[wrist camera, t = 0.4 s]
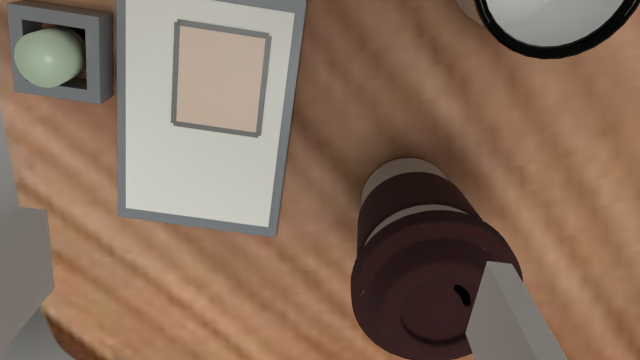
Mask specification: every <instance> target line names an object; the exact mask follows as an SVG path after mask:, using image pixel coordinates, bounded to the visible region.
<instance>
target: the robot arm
mask: <svg viewBox="0 0 640 360" xmlns="http://www.w3.org/2000/svg"><path fill="white" fill-rule="evenodd" d="M53 289H54V278H53V268H52V257H51V247H50V237H49V226H48V216H47V210H43V209H34V208H26V207H20V208H18V209H17V210H16V211H15V212H14V213H13V214H11V215H10V216H9V217H8V218H7V219H6V220H4V221H3V222H2V223H1V224H0V355H1V354H2V352H3V351H4V350H5V349H6V347H7V346H8V345H9V344H10V342H11V341H12V340H13V338H14V337H15V336H16V335H17V334H18V332H19V331H20V330H21V329H22V327H23V326H24V325H25V324H26V322H27V321H28V320H29V319H30V318H31V316H32V315H33V313H35V311H36V310H37V309H38V308H39V306H40V305H41V304H42V303H43V301H44V300H45V299H46V298H47V296H48V295H49V294H50V293H51V291H52V290H53ZM466 336H467V339H468V341H469V344H470V347H471V350H472V353H473V355H474V358H475V360H568V359H567V357H566V356H565V354H564V352H563V350H562V349H561V347H560V345H559V344H558V342H557V340H556V338H555V337H554V335H553V333H552V332H551V330H550V328H549V326H548V325H547V323H546V321H545V320H544V318H543V316H542V314H541V313H540V311H539V309H538V308H537V306H536V304H535V302H534V301H533V299H532V297H531V296H530V294H529V292H528V291H527V289H526V287H525V285H524V284H523V282H522V280H521V279H520V277H519V275H518V273H517V272H516V270H515V268H514V267H513V265H512V264H508V263H500V262H491V261H487V263H486V267H485V270H484V273H483V277H482V280H481V283H480V287H479V290H478V293H477V297H476V300H475V303H474V306H473V310H472V313H471V316H470V320H469V323H468V326H467V330H466Z"/></svg>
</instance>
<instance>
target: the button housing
mask: <svg viewBox="0 0 640 360" xmlns="http://www.w3.org/2000/svg"><path fill="white" fill-rule="evenodd" d="M7 14H8V25H9V37H10V48H11V59H12V71H13V82H14V92H19V93H26V94H33V95H40V96H47V97H54V98H61V99H68V100H74V101H81V102H88V103H95V104H101V103H103V102H104V101H106V100H107V99H109V98H110V97H112V96H113V13H108V12H102V11H95V10H89V9H82V8H76V7H69V6H63V5H56V4H50V3H43V2H36V1H30V0H23V1H17V2H11V3H7ZM41 22H42V23H49V24H55V25H62V26H69V27H75V28H82V29H85V38H86V70H87V80H85V79H78V78H72V79H70V80H68V81H66V82H64V83H62V84H60V85H58V86H56V87H52V88H44V87H39V86H36V85H34V84H32V83H31V82H29V81H28V80H27V79H25V78H24V77H23V75H22V74H21V73H20V71H19V70H18V68H17V66H16V63H15V59H14V49H15V46H16V44H17V42H18V40H19V39H20V38H21V37H23V36H24V35H26V34H29V33H32V32H35V31H39V30H41Z"/></svg>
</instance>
